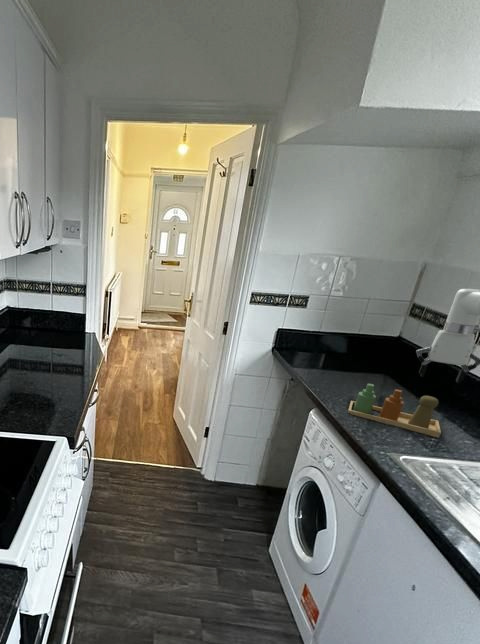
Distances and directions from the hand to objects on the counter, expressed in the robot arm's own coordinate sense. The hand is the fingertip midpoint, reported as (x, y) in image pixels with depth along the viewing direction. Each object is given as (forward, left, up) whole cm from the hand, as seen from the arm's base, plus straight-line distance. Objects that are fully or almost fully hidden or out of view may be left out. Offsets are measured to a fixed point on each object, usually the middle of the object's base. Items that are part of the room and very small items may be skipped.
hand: (439, 379), depth 139 cm
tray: (+9, -1, -18) cm, 20 cm away
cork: (+1, 0, -18) cm, 18 cm away
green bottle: (+18, -1, -18) cm, 25 cm away
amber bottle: (+10, -1, -18) cm, 20 cm away
